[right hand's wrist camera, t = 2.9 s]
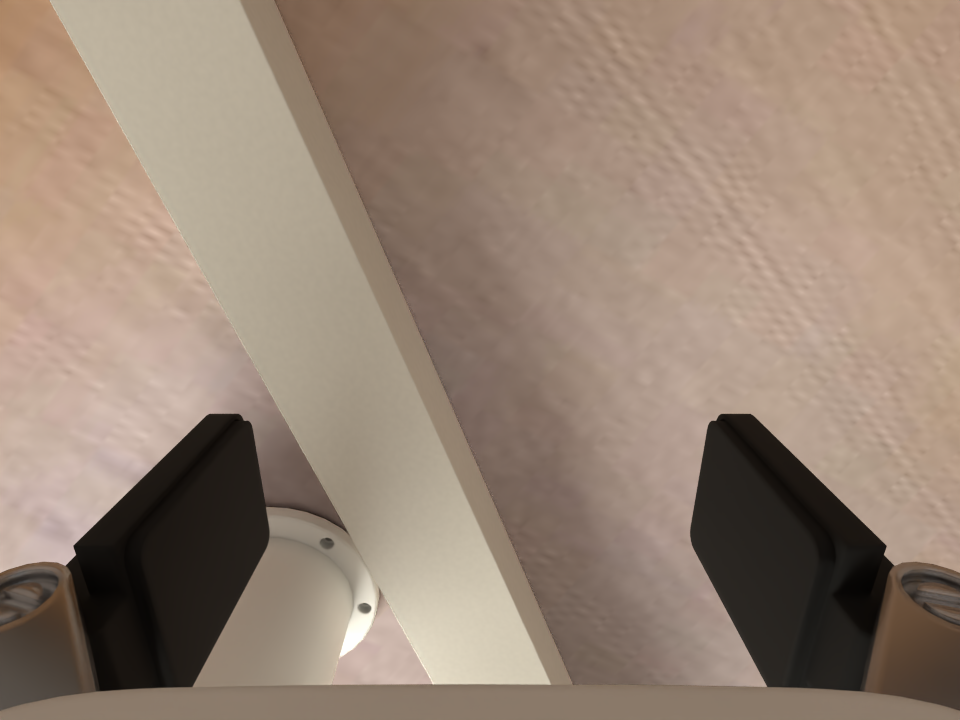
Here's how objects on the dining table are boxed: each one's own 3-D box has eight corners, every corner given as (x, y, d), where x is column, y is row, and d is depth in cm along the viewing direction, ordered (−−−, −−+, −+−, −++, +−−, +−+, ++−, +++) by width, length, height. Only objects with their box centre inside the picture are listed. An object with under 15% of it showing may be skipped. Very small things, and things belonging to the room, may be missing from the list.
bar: (80, -74, 24) (-28, -137, 18) (213, -140, 23) (137, -225, 18) (581, 884, 48) (593, 970, 43) (653, 867, 47) (674, 953, 42)
